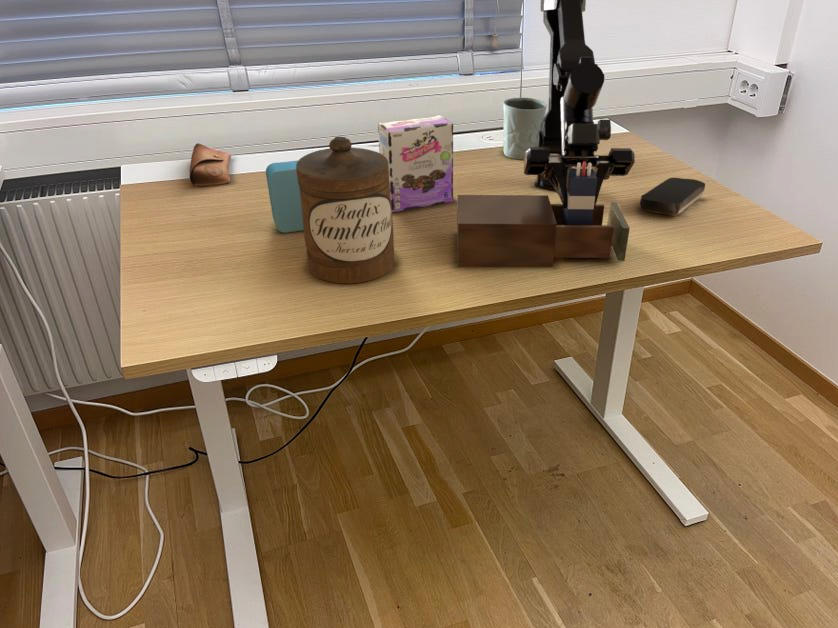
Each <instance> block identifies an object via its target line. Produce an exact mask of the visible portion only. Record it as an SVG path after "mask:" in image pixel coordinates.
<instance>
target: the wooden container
mask: <svg viewBox="0 0 838 628" xmlns="http://www.w3.org/2000/svg"><path fill="white" fill-rule="evenodd" d="M328 147H329V148H324V149H320V150H316V151H312V152H310V153H307V154H304V156H302V157H301V158H299V159H298V160H297V161H298V162H297V164H296V171H297V179H298V184H299V189H300V198H301V207H302V218H303V228H304V230H303V237H304V245H305V248H306V257H307V264H308V269H309V272H311V274H313V276H315V277H317V278H318V279H321V280H323V281H327V282H330V283H335V284H359V283H366V282H369V281H373V280H376V279H377V278H381V277H383V276H384V275H386V274H387V273H389V272H390V271H391V270H392V268H394V265H395V243H394V242H395V239H394V222H393V212H392V208H391V195H390V183H389V167H388V160H387V158H386V157H385V156H384V155H382V154H380V153H379V151H375V150H371V149H367V148H360V147H353V146H352V142H351V139H349V138H347V137H345V136H335V137H334V138H333V139H331V140H330V141H329V144H328Z"/></svg>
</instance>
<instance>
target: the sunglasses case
mask: <svg viewBox="0 0 838 628" xmlns="http://www.w3.org/2000/svg"><path fill="white" fill-rule="evenodd" d="M231 158H232V154H231V153H228V152H226V151H222V150H217V149H214V148H211V147H208V146H206V145H204V144H202V143H195V145H194V147H193V150H192V153H191V158H190V166H189V175H188V176H189V182H190V183H191V184H192V185H193V186H195V187H210V186H219V185H225V184H229V183H231V177H230V162H231Z"/></svg>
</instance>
